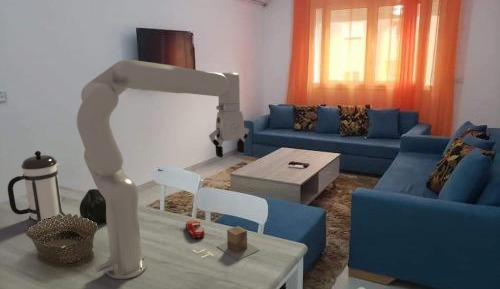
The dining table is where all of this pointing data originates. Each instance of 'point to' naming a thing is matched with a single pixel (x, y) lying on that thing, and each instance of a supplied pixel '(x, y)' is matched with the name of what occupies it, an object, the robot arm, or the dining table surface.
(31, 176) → the coffee press
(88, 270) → the dining table surface
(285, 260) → the dining table surface
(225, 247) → the pad
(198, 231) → the race car
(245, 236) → the walnut block
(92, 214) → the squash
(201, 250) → the card
